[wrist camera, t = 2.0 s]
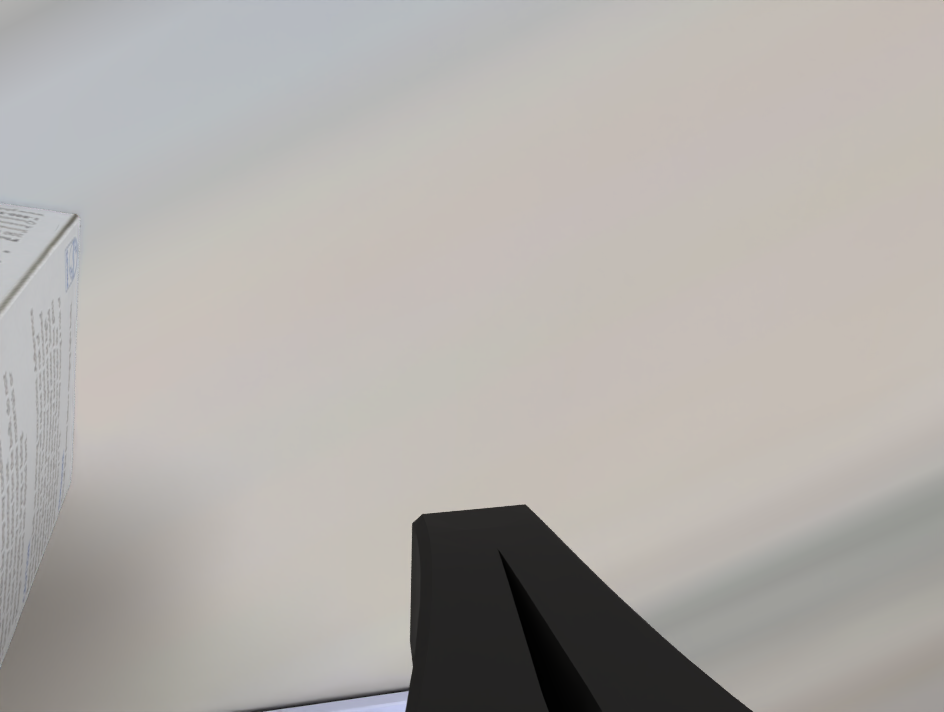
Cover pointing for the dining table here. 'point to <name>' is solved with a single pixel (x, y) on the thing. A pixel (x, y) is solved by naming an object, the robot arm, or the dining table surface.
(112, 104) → the dining table surface
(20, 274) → the light bulb box
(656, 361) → the dining table surface
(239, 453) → the dining table surface
